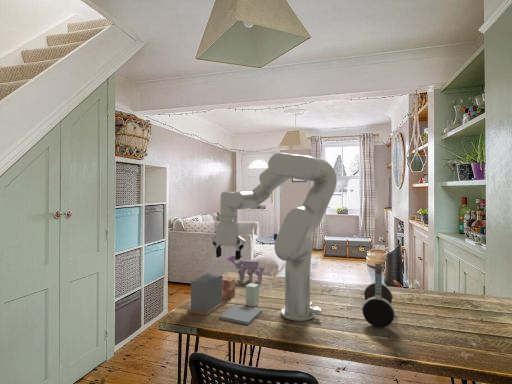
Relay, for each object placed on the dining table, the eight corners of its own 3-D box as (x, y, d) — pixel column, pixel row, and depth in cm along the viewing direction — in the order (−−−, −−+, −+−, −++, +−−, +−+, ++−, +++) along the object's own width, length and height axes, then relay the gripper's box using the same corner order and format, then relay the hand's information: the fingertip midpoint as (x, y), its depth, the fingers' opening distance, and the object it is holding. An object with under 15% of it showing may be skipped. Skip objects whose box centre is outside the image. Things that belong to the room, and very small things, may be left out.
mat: (262, 312, 115) (262, 309, 115) (248, 325, 104) (248, 322, 104) (234, 307, 120) (234, 304, 120) (219, 318, 109) (219, 316, 109)
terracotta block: (234, 296, 133) (234, 278, 133) (230, 299, 129) (230, 281, 129) (227, 295, 135) (227, 277, 135) (222, 298, 131) (222, 279, 131)
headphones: (361, 326, 103) (361, 269, 103) (363, 305, 122) (363, 257, 122) (395, 332, 99) (395, 272, 99) (392, 309, 118) (392, 259, 118)
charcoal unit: (225, 303, 124) (225, 275, 124) (207, 315, 112) (207, 283, 112) (206, 300, 128) (206, 272, 128) (187, 311, 116) (188, 280, 116)
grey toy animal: (222, 282, 153) (223, 255, 154) (229, 277, 164) (229, 252, 164) (260, 285, 149) (261, 257, 149) (264, 280, 159) (265, 254, 160)
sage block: (258, 303, 125) (258, 284, 125) (254, 306, 121) (254, 287, 121) (250, 301, 126) (250, 283, 126) (245, 305, 123) (246, 285, 123)
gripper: (207, 219, 132) (207, 257, 132) (242, 221, 125) (241, 262, 125) (216, 217, 139) (216, 254, 139) (250, 219, 132) (249, 258, 132)
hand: (228, 258), depth 132 cm, fingers open, 9 cm apart
